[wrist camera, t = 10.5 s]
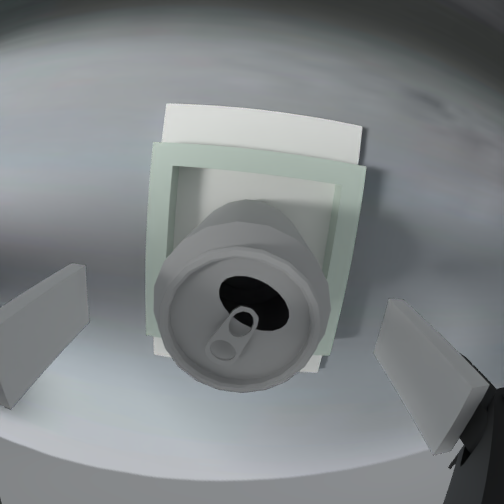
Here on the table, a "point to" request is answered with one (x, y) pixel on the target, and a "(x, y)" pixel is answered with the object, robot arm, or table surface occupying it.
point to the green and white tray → (256, 188)
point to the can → (242, 299)
